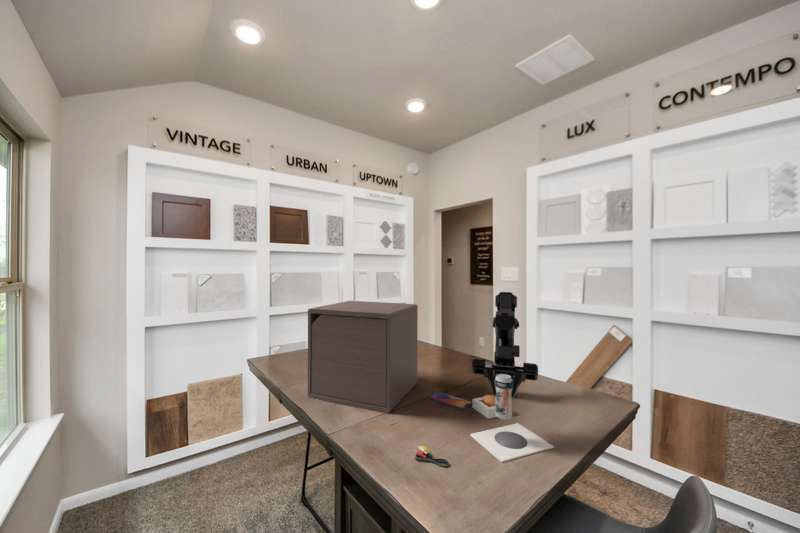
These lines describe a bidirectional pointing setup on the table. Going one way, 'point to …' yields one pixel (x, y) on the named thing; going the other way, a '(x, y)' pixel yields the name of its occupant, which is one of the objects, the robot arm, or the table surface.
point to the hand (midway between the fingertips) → (503, 396)
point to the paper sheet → (511, 442)
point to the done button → (489, 400)
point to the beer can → (503, 396)
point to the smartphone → (451, 400)
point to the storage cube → (362, 353)
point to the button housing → (483, 408)
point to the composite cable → (428, 457)
